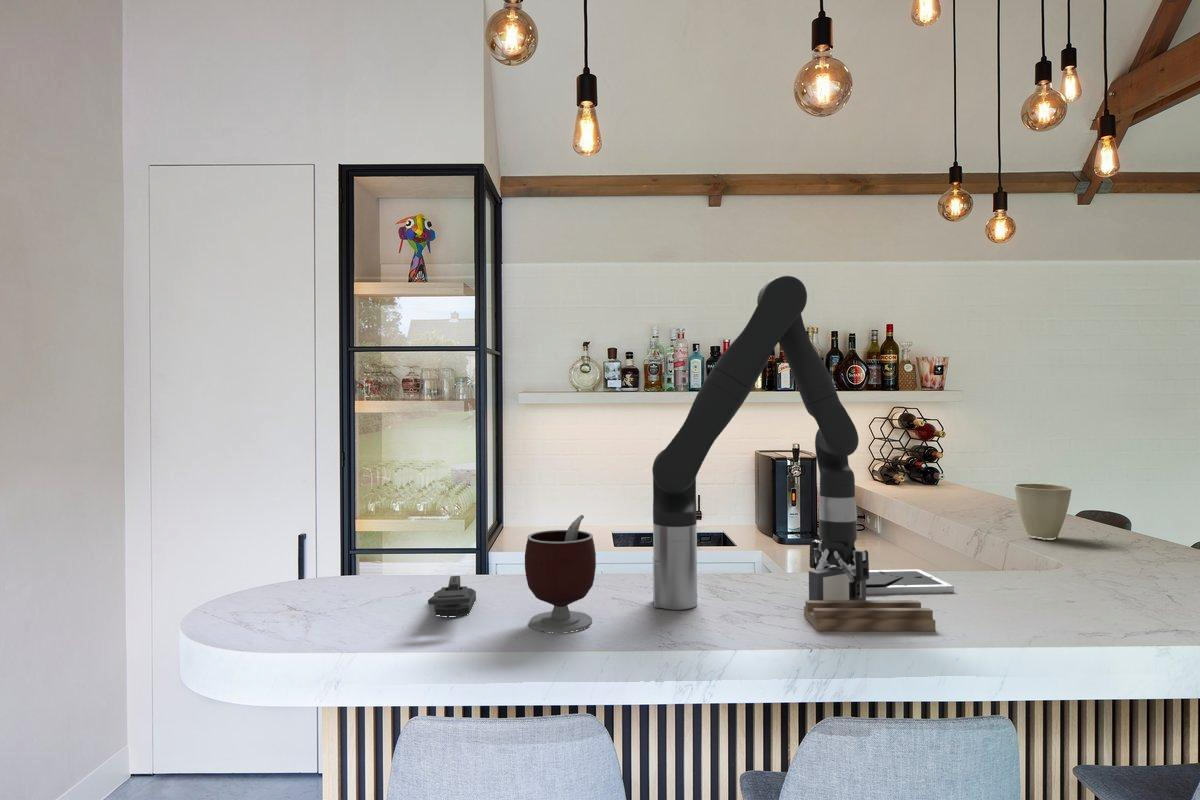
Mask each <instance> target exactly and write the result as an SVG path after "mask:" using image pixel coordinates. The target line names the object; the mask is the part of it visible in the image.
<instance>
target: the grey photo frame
mask: <svg viewBox="0 0 1200 800" xmlns="http://www.w3.org/2000/svg"><path fill="white" fill-rule="evenodd" d="M848 566H851V564H849V565H848ZM852 573H853V572H852ZM862 574H863V569H862ZM853 575H854V574H853ZM849 582H850V580H849V578H848V576H847V574H846V573H845V572H843V570H842V568H840V567H837V566H836V565H835V566H830V568H824V569H818V570H815V569H812V570H808V600H850V599H849ZM858 600H867V594H866V580H862V581H861V595H860V597H859V599H858Z"/></svg>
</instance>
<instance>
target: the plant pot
mask: <svg viewBox="0 0 1200 800" xmlns="http://www.w3.org/2000/svg"><path fill="white" fill-rule="evenodd" d="M1014 491H1015V497H1016V503H1017V508H1018V511H1019V514H1020V515H1019V516H1020V518H1021V521H1022V524H1023V525H1022V526H1023V527H1024V529H1025V532H1026V534H1028V535H1031V536H1036V537H1042V538H1055V537H1057V538H1058V537H1059V535H1060V532H1061V530H1062V527H1063V525H1064V521H1065V519H1066V515H1067V512H1068V510H1069V507H1070V506H1069V505H1070V500H1071V496H1072V495H1071V494H1072V487H1069V486H1063V485H1058V484H1048V483H1047V484H1046V483H1017V484H1014ZM1028 535H1027V536H1028Z"/></svg>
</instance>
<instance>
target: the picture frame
mask: <svg viewBox="0 0 1200 800" xmlns="http://www.w3.org/2000/svg"><path fill="white" fill-rule="evenodd" d="M943 592H954V593H955V586H954V585H953V584H951V583H949V582H946V581H945V580H942V579H941V578H938V577H936V576H934V575H932V574H929V573H928V572H926V571H923V570H921V569H920V568H919V569H879V570H877V569H875V570H872V569H869V579H868V580H866V595H891V594H892V595H893V594H894V595H895V594H897V595H898V594H900V595H902V594H940V593H941V594H944V593H943Z"/></svg>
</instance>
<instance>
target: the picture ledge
mask: <svg viewBox="0 0 1200 800" xmlns="http://www.w3.org/2000/svg"><path fill="white" fill-rule="evenodd" d="M804 602H805V606H803V616H805V617H806V618H805V617H804V618H805V619H806V621H808V623H809V622H810V623H811V624H812V625H811V624H810V623H809V624H810V625H811V627H812V628H813V629H816V630H815V631H816V632H936V619H934V618H933V617H934V615H933V613H934V612H933V609H931V608H930V607H922V602H921V601H919V600H916V599H913V600H912V599H909V600H907V599H904V600H902V599H901V600H899V599H898V600H897V599H895V600H894V599H893V600H892V599H890V600H889V599H886V600H885V599H884V600H883V599H882V600H879V599H872V600H871V599H870V600H869V599H866V600H809V599H808V600H806V599H805V601H804Z"/></svg>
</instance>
